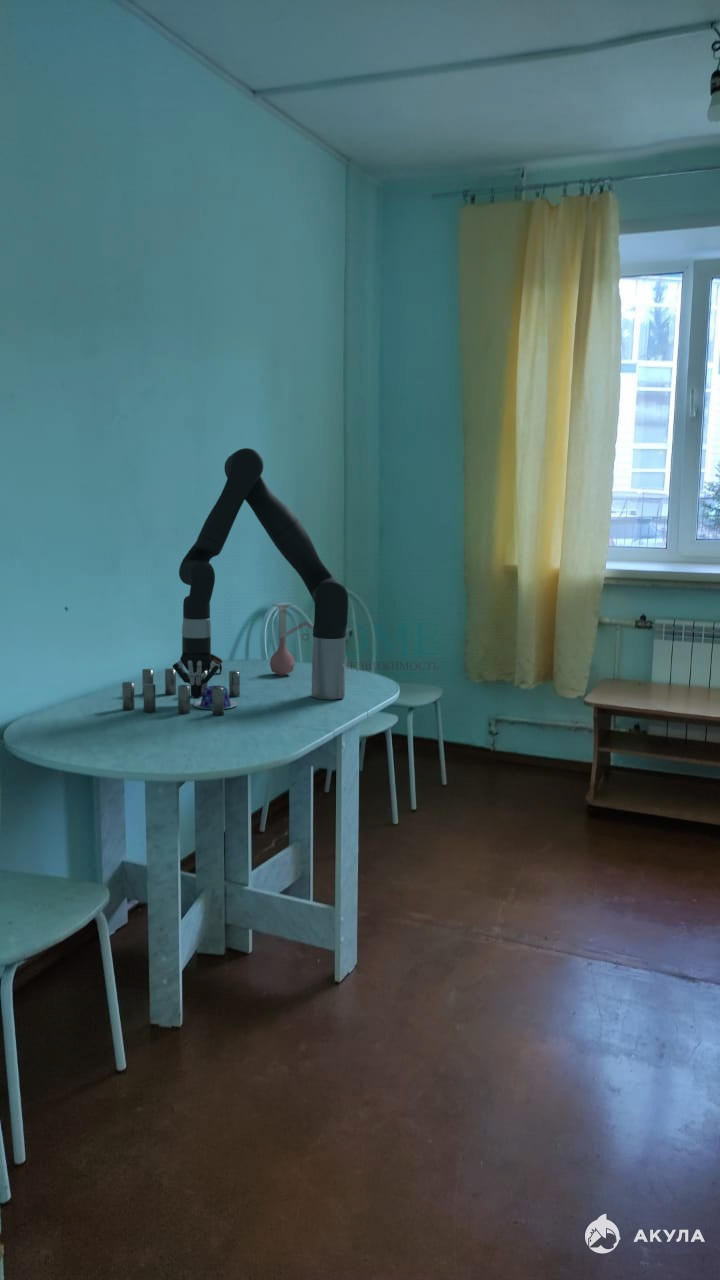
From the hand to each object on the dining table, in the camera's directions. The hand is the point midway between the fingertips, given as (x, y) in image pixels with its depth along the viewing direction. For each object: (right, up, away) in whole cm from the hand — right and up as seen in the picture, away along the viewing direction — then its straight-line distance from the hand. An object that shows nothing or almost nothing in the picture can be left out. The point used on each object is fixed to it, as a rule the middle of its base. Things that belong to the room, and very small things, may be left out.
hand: (196, 698), depth 249 cm
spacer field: (-4, -1, 0) cm, 4 cm away
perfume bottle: (+19, +4, +42) cm, 46 cm away
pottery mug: (-4, +5, +39) cm, 40 cm away
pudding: (+5, -2, -1) cm, 6 cm away
